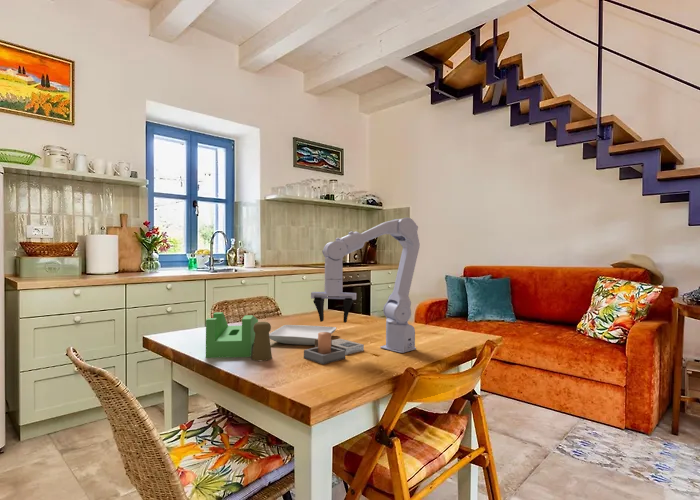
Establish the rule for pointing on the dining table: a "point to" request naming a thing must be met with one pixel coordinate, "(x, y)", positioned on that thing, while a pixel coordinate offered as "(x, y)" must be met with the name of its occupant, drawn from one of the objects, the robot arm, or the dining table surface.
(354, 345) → the grey flat frame
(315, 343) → the block
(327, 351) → the dowel
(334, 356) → the tray
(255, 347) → the brown pawn
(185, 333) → the dining table surface
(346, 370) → the dining table surface
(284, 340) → the salad plate
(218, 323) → the ramp block with notch
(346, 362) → the dining table surface
